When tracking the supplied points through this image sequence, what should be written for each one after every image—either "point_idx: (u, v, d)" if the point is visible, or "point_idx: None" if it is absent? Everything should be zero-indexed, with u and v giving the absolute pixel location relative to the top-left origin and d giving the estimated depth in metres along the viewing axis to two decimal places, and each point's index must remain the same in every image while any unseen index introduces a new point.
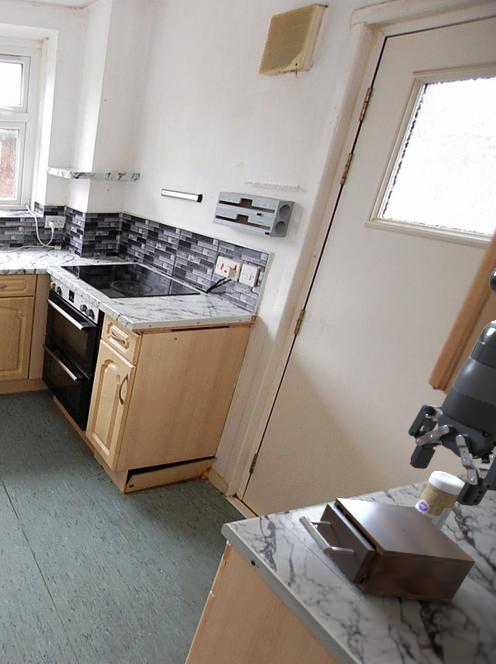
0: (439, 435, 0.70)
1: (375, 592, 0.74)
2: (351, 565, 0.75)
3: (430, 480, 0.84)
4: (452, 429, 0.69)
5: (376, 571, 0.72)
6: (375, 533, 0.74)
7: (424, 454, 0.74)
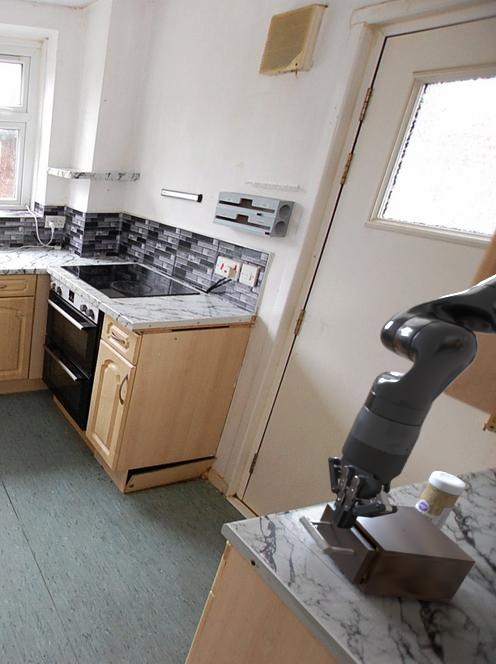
0: (341, 474, 0.75)
1: (375, 592, 0.74)
2: (351, 565, 0.75)
3: (430, 480, 0.84)
4: (351, 469, 0.74)
5: (376, 571, 0.72)
6: (375, 533, 0.74)
7: None
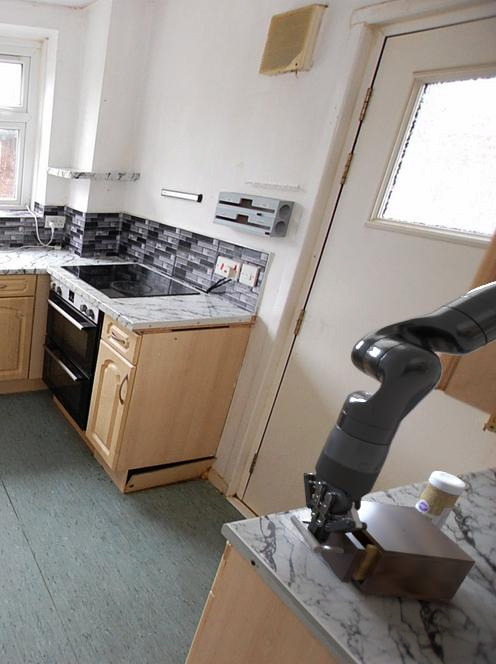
0: (315, 490, 0.77)
1: (375, 592, 0.74)
2: (341, 564, 0.75)
3: (430, 480, 0.84)
4: (324, 486, 0.75)
5: (376, 571, 0.72)
6: (375, 533, 0.74)
7: None
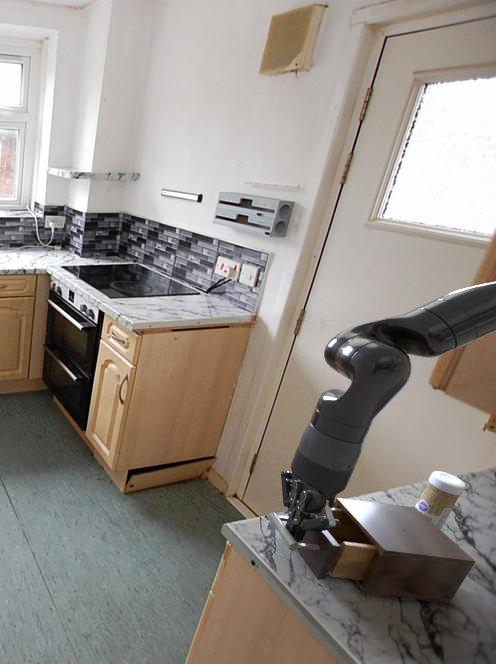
0: (291, 488, 0.77)
1: (375, 592, 0.74)
2: (317, 561, 0.75)
3: (430, 480, 0.84)
4: (300, 484, 0.75)
5: (376, 571, 0.72)
6: (375, 533, 0.74)
7: None
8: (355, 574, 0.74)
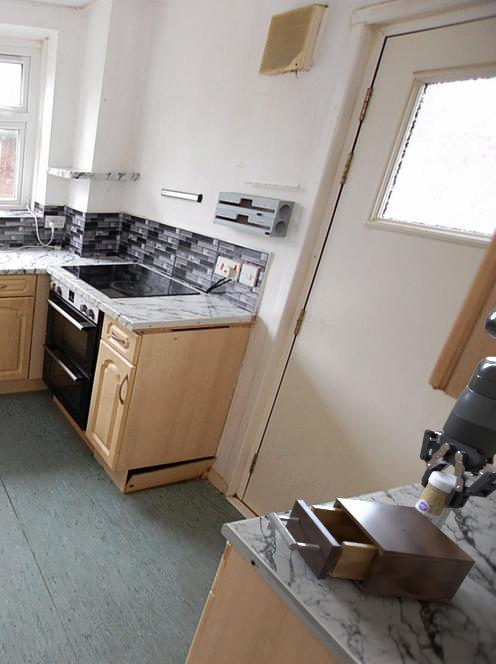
0: None
1: (375, 592, 0.74)
2: (317, 561, 0.75)
3: (430, 480, 0.84)
4: None
5: (376, 571, 0.72)
6: (375, 533, 0.74)
7: None
8: (355, 574, 0.74)
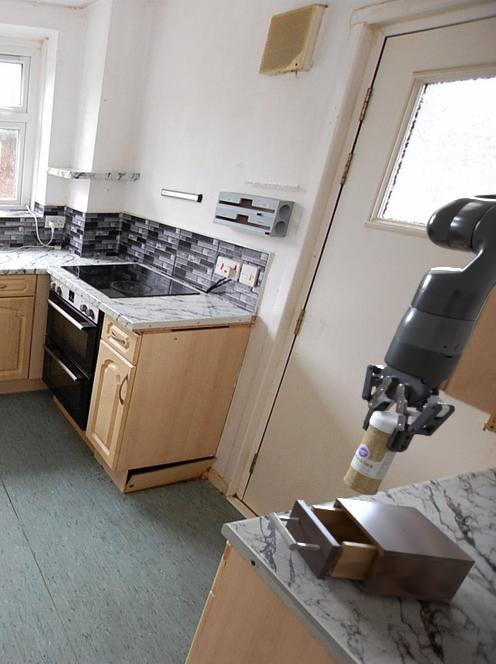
0: None
1: (375, 592, 0.74)
2: (317, 561, 0.75)
3: (370, 421, 0.72)
4: None
5: (376, 571, 0.72)
6: (375, 533, 0.74)
7: None
8: (355, 574, 0.74)
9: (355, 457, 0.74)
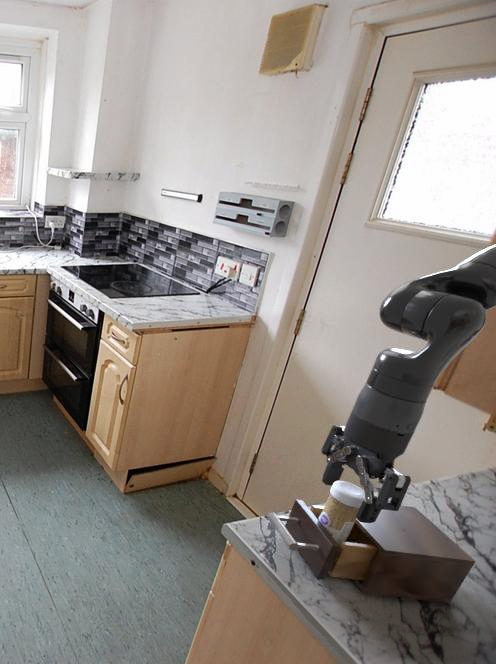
0: None
1: (375, 592, 0.74)
2: (317, 561, 0.75)
3: (331, 490, 0.75)
4: None
5: (376, 571, 0.72)
6: (375, 533, 0.74)
7: None
8: (355, 574, 0.74)
9: None
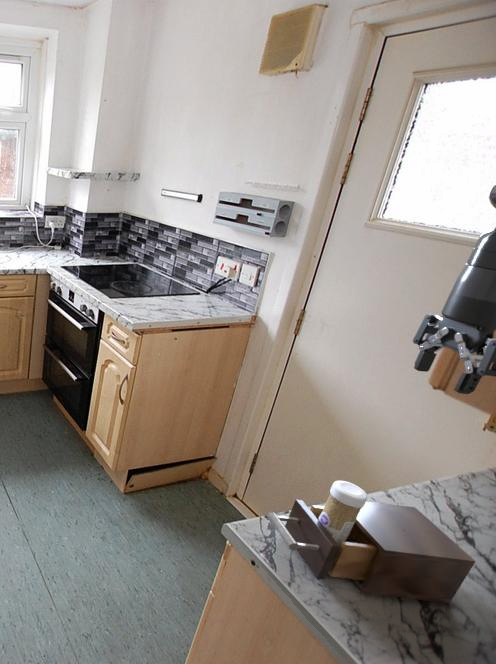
0: None
1: (375, 592, 0.74)
2: (317, 561, 0.75)
3: (331, 490, 0.75)
4: None
5: (376, 571, 0.72)
6: (375, 533, 0.74)
7: None
8: (355, 574, 0.74)
9: None
